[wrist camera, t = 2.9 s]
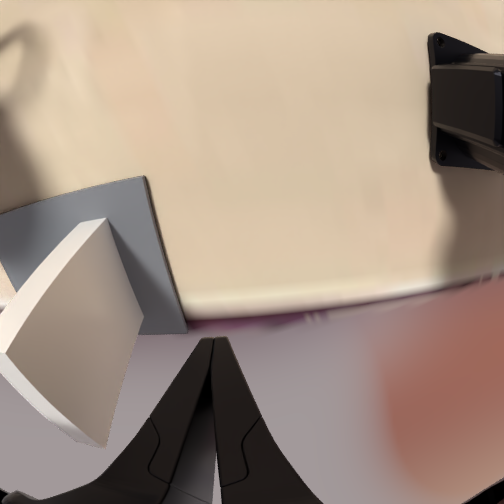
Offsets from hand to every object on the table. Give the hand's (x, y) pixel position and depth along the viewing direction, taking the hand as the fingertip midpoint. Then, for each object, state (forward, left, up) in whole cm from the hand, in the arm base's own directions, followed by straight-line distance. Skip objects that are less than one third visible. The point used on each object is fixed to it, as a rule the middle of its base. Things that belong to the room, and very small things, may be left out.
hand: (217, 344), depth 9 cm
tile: (+6, 0, -5) cm, 8 cm away
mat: (+9, 0, -5) cm, 10 cm away
